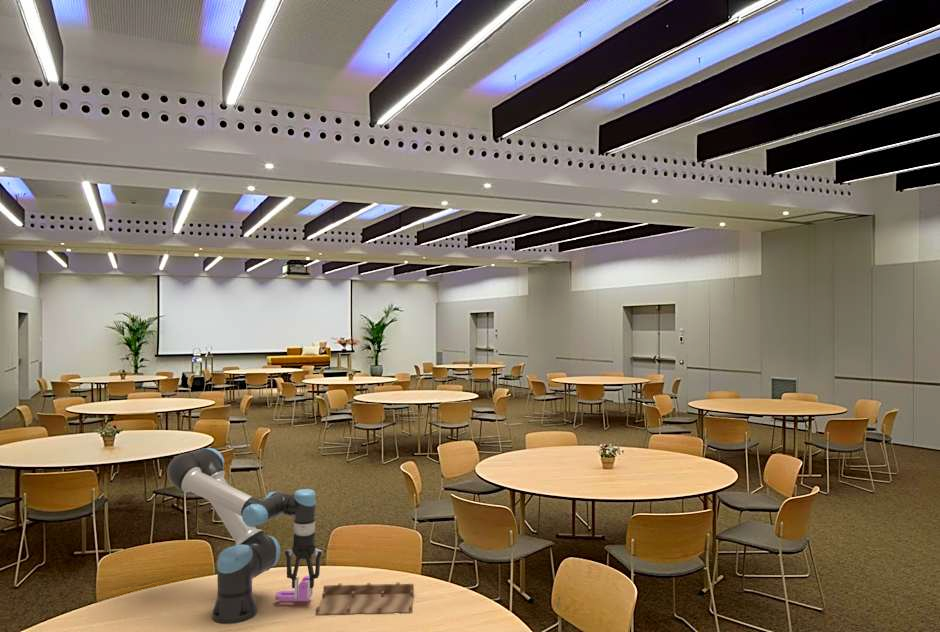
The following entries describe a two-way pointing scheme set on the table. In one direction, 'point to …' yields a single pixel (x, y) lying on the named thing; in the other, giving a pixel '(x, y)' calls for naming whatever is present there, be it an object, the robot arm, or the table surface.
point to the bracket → (290, 594)
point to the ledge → (366, 599)
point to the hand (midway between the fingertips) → (302, 596)
